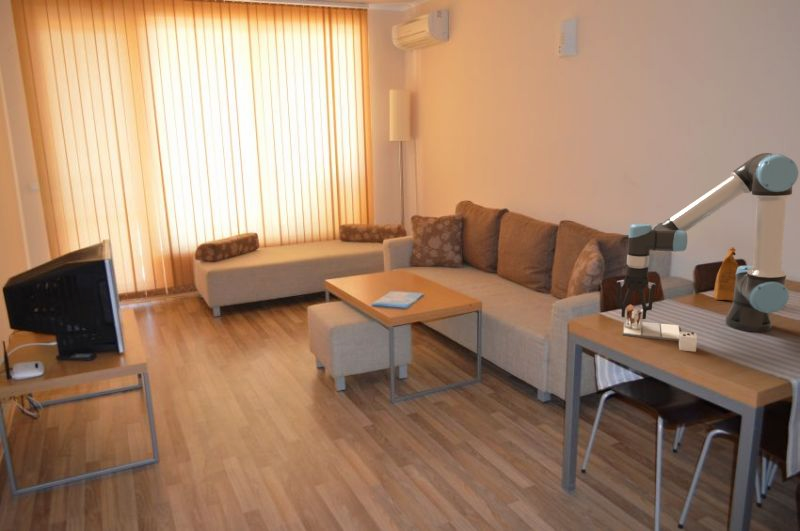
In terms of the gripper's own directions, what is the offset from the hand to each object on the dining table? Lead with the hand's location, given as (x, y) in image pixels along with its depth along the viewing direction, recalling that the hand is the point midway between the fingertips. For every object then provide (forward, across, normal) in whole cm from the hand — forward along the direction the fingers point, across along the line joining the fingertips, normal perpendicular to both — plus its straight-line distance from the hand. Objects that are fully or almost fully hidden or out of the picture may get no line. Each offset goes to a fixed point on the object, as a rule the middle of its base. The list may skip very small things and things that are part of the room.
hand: (632, 326), depth 227 cm
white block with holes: (+1, -18, +14) cm, 23 cm away
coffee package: (+2, -38, -56) cm, 68 cm away
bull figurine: (+1, 0, 0) cm, 1 cm away
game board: (+1, -6, 0) cm, 7 cm away
